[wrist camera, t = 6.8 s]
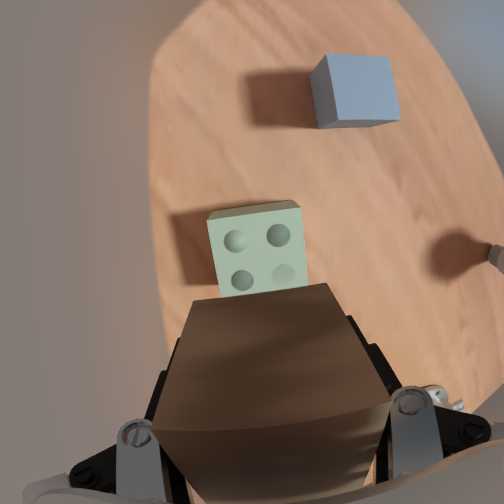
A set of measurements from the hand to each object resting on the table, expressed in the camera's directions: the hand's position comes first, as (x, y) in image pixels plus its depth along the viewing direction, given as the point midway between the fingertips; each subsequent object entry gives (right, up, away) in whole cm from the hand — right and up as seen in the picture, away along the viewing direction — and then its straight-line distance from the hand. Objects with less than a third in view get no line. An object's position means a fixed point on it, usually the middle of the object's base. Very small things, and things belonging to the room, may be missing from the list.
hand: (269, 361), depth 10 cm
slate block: (+7, +17, +11) cm, 22 cm away
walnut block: (0, 0, +1) cm, 1 cm away
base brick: (0, +5, +15) cm, 16 cm away
